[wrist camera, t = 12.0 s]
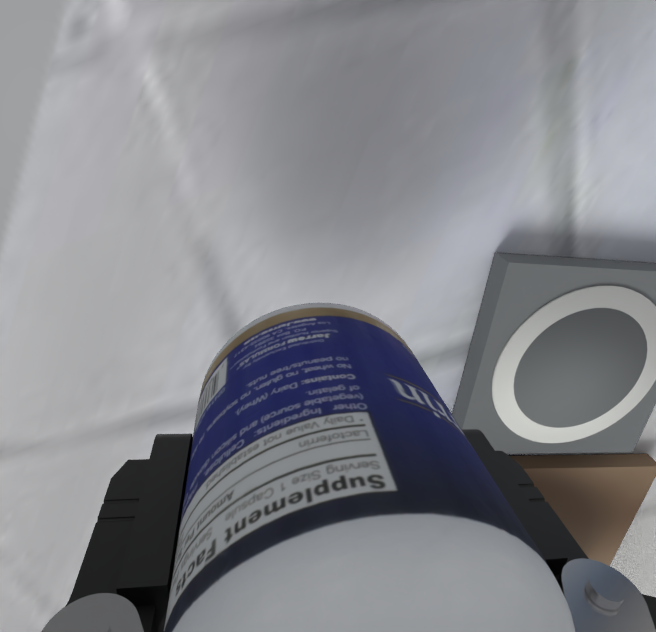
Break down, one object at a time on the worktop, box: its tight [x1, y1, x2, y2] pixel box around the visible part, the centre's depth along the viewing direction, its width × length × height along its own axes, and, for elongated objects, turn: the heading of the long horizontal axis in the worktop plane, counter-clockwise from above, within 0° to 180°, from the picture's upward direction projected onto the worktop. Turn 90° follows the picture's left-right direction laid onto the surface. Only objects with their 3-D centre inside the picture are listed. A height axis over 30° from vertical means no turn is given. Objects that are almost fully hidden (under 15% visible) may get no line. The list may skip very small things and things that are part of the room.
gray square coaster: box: [452, 253, 656, 454], centre depth 19 cm, size 8×8×1 cm
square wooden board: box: [509, 454, 656, 566], centre depth 23 cm, size 16×16×2 cm
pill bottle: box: [164, 303, 575, 632], centre depth 8 cm, size 6×6×10 cm
